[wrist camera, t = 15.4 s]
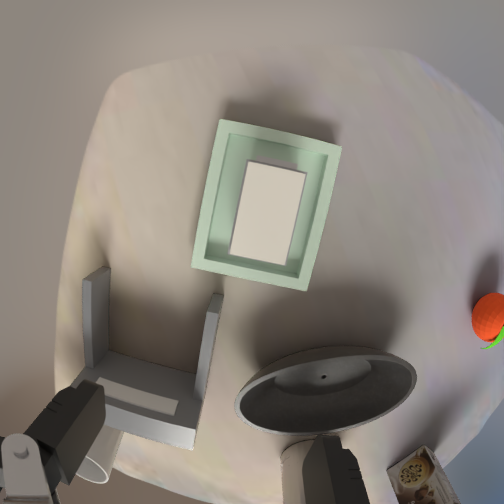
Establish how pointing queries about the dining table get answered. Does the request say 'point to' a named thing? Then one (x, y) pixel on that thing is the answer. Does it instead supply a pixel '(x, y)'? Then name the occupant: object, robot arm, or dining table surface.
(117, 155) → the dining table surface
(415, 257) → the dining table surface
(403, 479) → the coffee box
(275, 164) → the white block
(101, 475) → the cup
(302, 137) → the tray
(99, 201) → the dining table surface
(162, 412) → the bay
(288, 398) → the bowl
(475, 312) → the clementine
